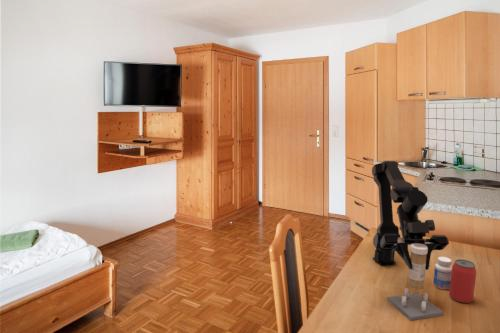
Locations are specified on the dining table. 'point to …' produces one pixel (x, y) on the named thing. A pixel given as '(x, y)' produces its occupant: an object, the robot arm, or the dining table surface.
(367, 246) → the dining table surface
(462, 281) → the beer can
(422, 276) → the sprinkles bottle
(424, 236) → the robot arm
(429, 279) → the dining table surface
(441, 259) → the pill bottle
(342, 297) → the dining table surface
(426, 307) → the pin tray
